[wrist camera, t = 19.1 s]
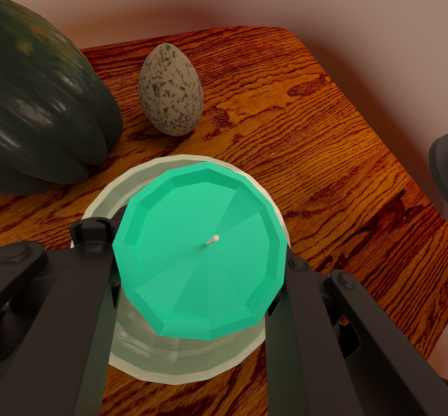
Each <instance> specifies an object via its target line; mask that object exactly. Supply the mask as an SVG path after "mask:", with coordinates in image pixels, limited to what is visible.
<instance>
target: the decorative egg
mask: <svg viewBox="0 0 448 416" xmlns="http://www.w3.org/2000/svg"><path fill="white" fill-rule="evenodd" d="M139 98H140V103H141V106H142V109H143V111H144V113H145V115H146V117H147V118H148V120H149V121H150V123H151V124H152V125H153V126H154V127H155V128H156V129H158V130H159V131H161V132H162V133H164V134H167V135H170V136H182V135H185V134H187V133H189V132H190V131H192V130H193V129H194V128H195V127H196V125H197V124H198V122H199V120H200V118H201V115H202V112H203V105H204V98H203V91H202V86H201V83H200V80H199V77H198V75H197V73H196V71H195V69H194V67H193V66H192V64H191V63H190V61H189V60H188V58H187V57H186V56H185V55H184V54H183V53H182V52H181V51H180V50H179V49H178V48H177V47H175V46H174V45H172V44H169V43H163V44H160V45H159V46H157V47H156V48H155V49H154V50H153V51H152V52H151V53H150V54H149V56H148V57H147V58H146V60H145V62H144V64H143V67H142V70H141V73H140V77H139Z"/></svg>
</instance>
